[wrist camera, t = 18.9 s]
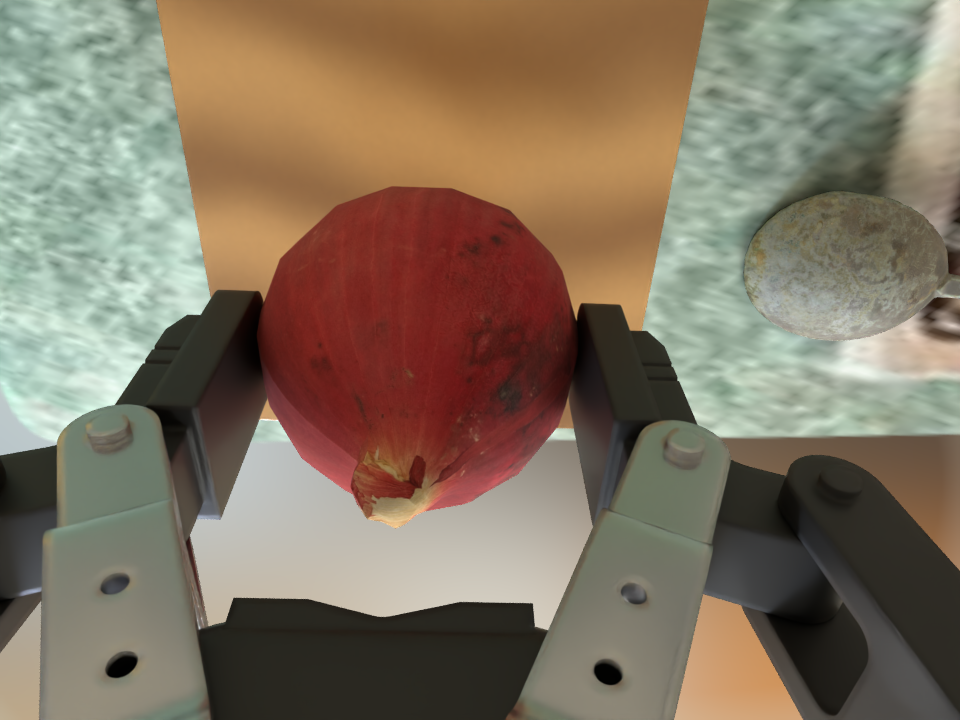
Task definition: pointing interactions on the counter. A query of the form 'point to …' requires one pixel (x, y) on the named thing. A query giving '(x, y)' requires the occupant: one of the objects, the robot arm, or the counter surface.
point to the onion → (417, 348)
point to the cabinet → (435, 122)
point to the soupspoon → (846, 266)
